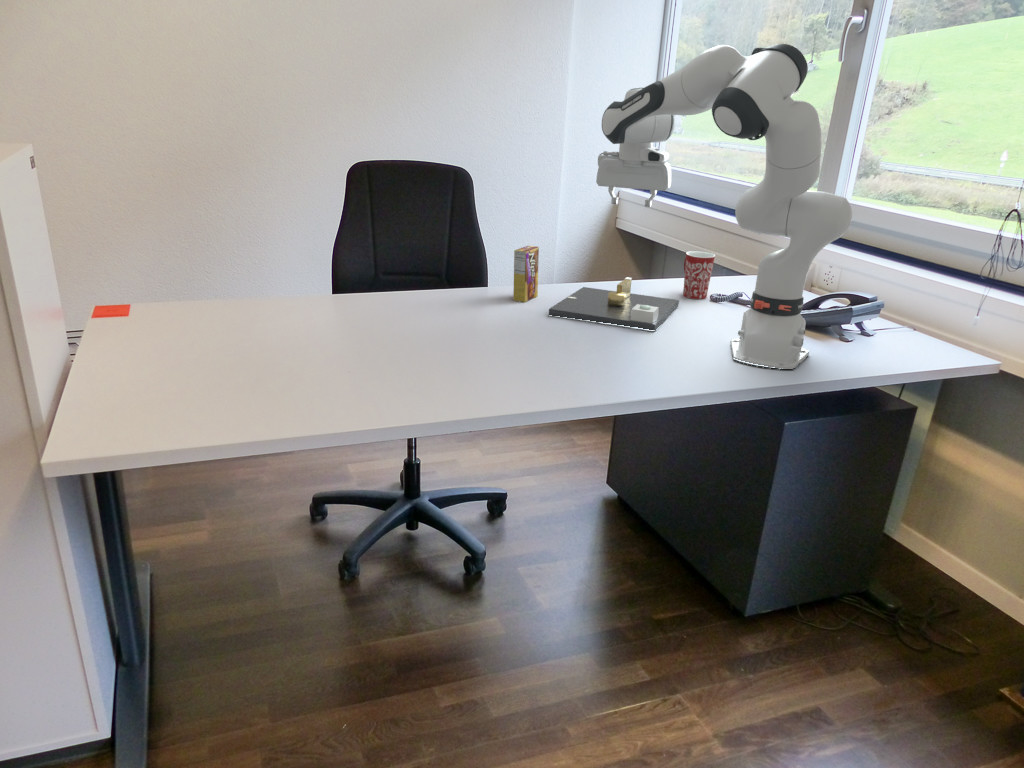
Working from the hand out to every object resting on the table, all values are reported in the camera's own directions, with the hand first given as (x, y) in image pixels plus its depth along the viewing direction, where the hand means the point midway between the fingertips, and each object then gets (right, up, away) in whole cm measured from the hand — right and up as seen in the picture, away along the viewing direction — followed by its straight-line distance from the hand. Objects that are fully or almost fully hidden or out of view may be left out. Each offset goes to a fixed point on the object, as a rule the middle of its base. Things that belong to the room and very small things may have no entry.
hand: (631, 205), depth 204 cm
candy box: (-29, -24, +19) cm, 42 cm away
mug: (+25, -21, +32) cm, 45 cm away
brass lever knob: (-1, -25, +13) cm, 28 cm away
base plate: (-3, -28, +10) cm, 30 cm away
